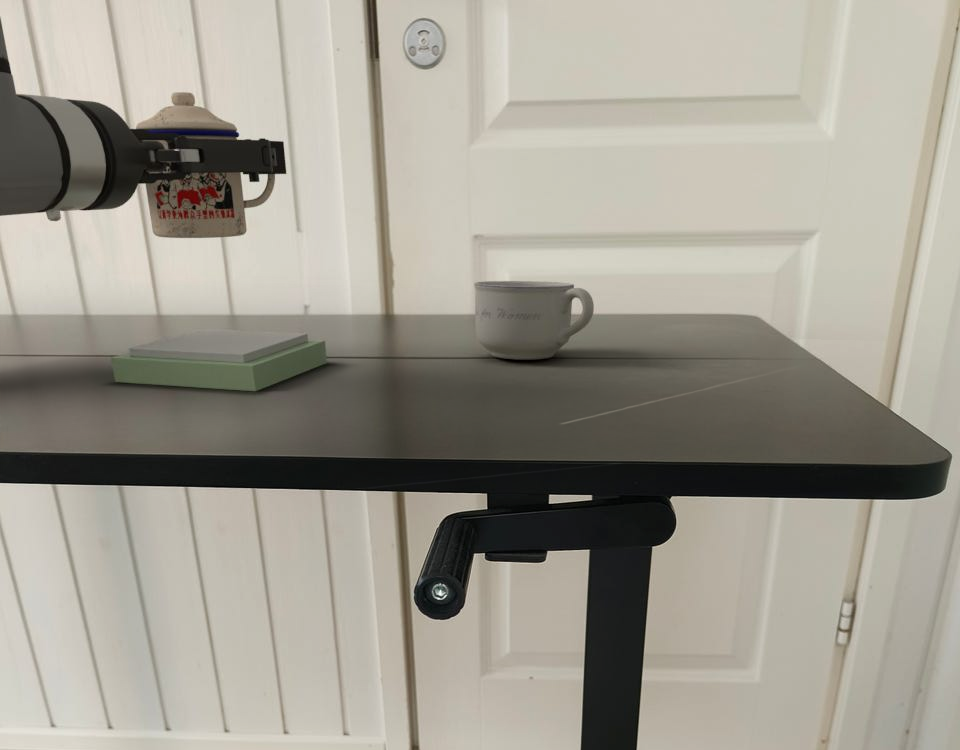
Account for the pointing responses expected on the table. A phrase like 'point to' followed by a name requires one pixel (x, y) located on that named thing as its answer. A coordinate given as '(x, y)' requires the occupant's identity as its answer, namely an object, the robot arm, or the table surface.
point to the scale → (220, 359)
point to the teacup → (527, 317)
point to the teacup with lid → (197, 180)
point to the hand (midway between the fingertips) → (227, 158)
